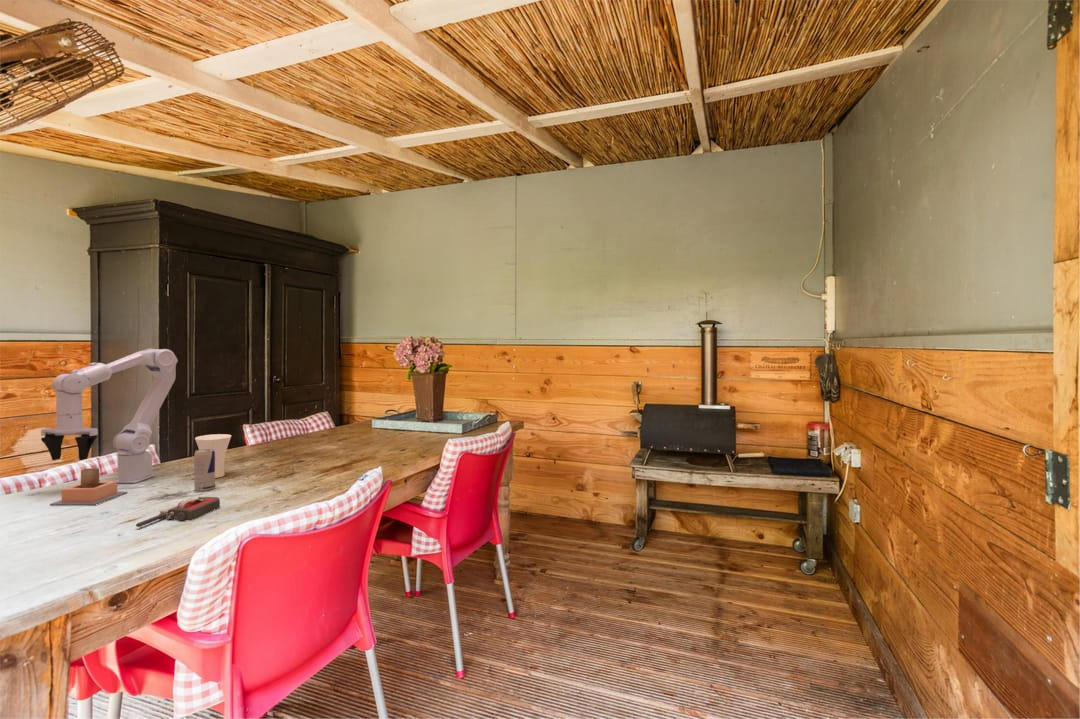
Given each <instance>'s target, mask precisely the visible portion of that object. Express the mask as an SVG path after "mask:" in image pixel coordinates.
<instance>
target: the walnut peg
mask: <svg viewBox="0 0 1080 719" xmlns="http://www.w3.org/2000/svg"><path fill="white" fill-rule="evenodd" d="M99 481H100V468H99V467H94V468H93V467H91V468H85V469H81V470H80V483H81V488H94V487H97V486H99Z"/></svg>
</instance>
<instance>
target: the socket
mask: <svg viewBox="0 0 1080 719" xmlns="http://www.w3.org/2000/svg"><path fill="white" fill-rule="evenodd" d="M126 493H127V494H128V491H118V483H117V481H114V480H111V481H109V480H108V481H105V480H104V481H100V480H99V486H97V487H94V488H81V482H80V483H79V484H78V483H77V484H75V485H72V486H71V485H70V486H68V487H66V488H63V489H61V499H60V500H57V501H55V502H52V503H49V506H50V505H88V506H97V505H96V504H99V503H101V504H103V503H102V502H104V501H106V502H108V501H107V500H109V501H111V500H113V498H114V499H116V498H119V497H121V496H120V495H122V496H123V494H124V495H126ZM118 496H119V497H118ZM115 497H116V498H115ZM110 499H111V500H110ZM104 503H105V502H104ZM99 505H100V504H99Z"/></svg>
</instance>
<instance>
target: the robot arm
mask: <svg viewBox="0 0 1080 719" xmlns="http://www.w3.org/2000/svg"><path fill="white" fill-rule="evenodd" d="M178 362H179V360H178V358H177V356H176V355H175V353H174V352H173V351H172V350H171V349H168V348H162V349H159V348H158V349H155V348H147V349H144V350H138V351H136V352H134V353H132V354H129V355H126V356H124V357H122V358H119V359H116V360H114V361H112V362H108V363H107V364H105V363H102V362H91V363H89V364H88V365H89V366H86V367H83V368H80V369H72V370H71V373H62V374H59V375H57V376H56V378H54V380H53V382H52V383H51V388H52V389H53V390H54V391H55V392H56V393H55V394H56V395H55V396H56V399H55V401H56V402H55V403H56V404H55V406H56V409H55V410H56V414H55V417H56V418H55V419H56V420H55V421H56V427H52V428H51V427H50V428H49V427H46V428H41V429H40V436H41V439H40V441H41V442H42V443H43V445H44V446H46V448H47V450H48V452H49V455H50V457H51V458H50V459H52V460H51V461H57V460H60V459H61V457H62V447H63V446H62V445H63V441H64V438H65V436H76V437H75V438H74V439H75V441H76V444H77V450H78V460H79V461H84V460H87V459H88V457H89V454H90V450H91V448H92V446H93V444H94V442H95V441H96V439H98V435H99V430H98V428H97V427H96V428H94V427H91V428H90V427H83V392H84V391H86V390H85V389H86V388H90V387H92V386H95V385H97V384H99V383H103V382H105V381H108V380H110V378H111V377H112V374H115V373H118V372H121V371H124V370H126V369H127V370H128V369H130V368H132V367H136V366H139V365H142V366H144V367H145V368H146V369H148V371H150V373H151V374H152V376H153V378H154V379H153V381H152V383H151V385H150V387H149V389H148V391H147V392H146V394H145V395H144V397H143V399H142V401H141V403H140V405H139V407H138V409H137V411H136V412H135V414H134V416H133V417H132V420H131V421H130V422H129V423H128V424H126V425H125V426H124V427H122V430H121V431H120V432H119V433H118V434H116V435H115V436H114V438H113V441H112V445H113V447H114V448H115V450H117V455H116V456H117V479H116V478H115V479H114V480H113V481H117V484H136V483H140V482H142V481H145V480H147V479H150V478H153V477H155V476H156V474H154V473H153V456H152V454H151V452H149V451H147V449H149V447H150V443H151V436H152V434H153V432H152V429H151V427H152V424H153V423H154V421H155V419H156V417H157V415H158V413H159V411H160V409H161V407H162V405H163V403H164V401H165V399H166V398H167V396H168V393H169V392H170V390H171V389H172V386H173V384H174V383H175V381H176V377H177V376H176V374H177V373H176V370H177V369H176V367H177V363H178Z"/></svg>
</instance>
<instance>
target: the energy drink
mask: <svg viewBox="0 0 1080 719" xmlns="http://www.w3.org/2000/svg"><path fill="white" fill-rule="evenodd" d="M193 456H194V457H193V458H194V461H193V462H194V466H193V467H194V469H193V470H194V478H193V479H194V481H193V482H194V488H193V489H194V491H195V492H208V491H207V490H209V491H212V490H214V489H215V488H216V478H215V452H214V450H213V449H203V450H199V449H198V450H194V454H193ZM211 489H212V490H211Z"/></svg>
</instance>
